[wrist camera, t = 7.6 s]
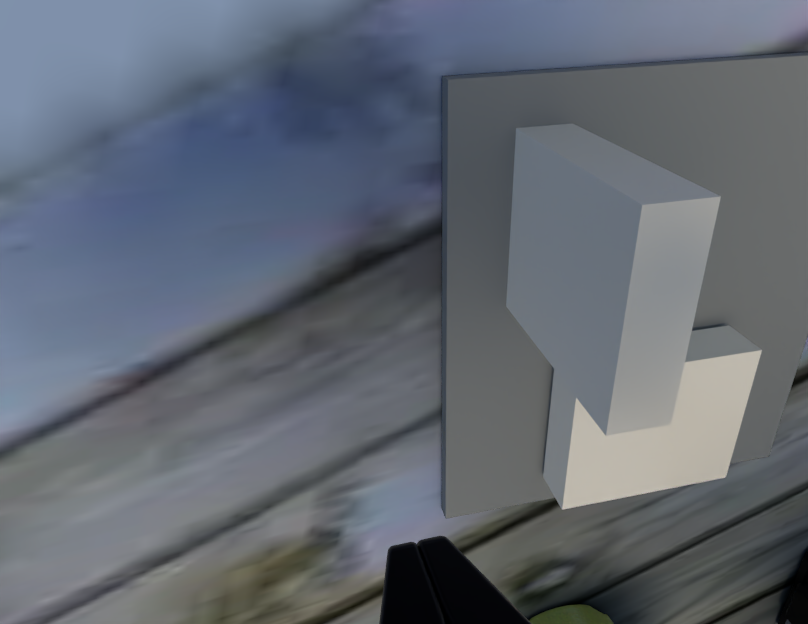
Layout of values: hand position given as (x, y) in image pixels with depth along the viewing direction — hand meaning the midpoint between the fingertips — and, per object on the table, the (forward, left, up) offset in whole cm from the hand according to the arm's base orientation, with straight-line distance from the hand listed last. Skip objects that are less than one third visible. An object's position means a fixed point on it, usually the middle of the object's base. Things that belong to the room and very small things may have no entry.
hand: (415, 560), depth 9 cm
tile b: (-7, 0, -12) cm, 14 cm away
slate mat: (-11, +4, -13) cm, 17 cm away
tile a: (-8, +8, -11) cm, 16 cm away
